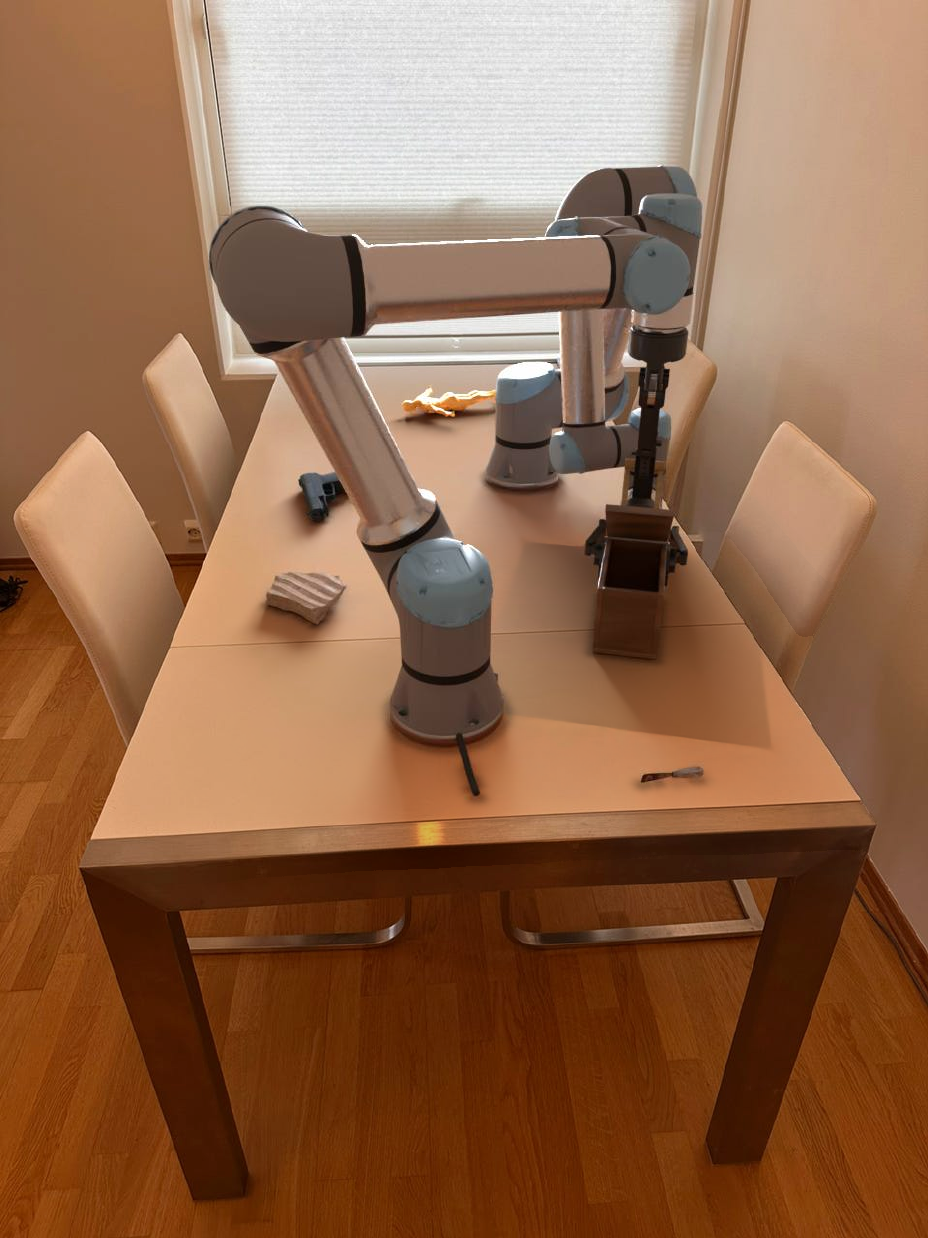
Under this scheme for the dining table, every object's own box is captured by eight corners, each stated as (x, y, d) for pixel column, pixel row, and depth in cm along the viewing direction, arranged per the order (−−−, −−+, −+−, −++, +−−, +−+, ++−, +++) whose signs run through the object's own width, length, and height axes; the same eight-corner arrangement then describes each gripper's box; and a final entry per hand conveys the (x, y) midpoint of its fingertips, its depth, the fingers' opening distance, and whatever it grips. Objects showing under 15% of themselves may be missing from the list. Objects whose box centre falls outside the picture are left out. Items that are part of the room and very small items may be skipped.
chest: (655, 659, 131) (664, 595, 125) (591, 652, 133) (597, 588, 127) (659, 602, 145) (667, 541, 140) (601, 596, 147) (607, 536, 141)
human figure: (395, 413, 223) (394, 398, 221) (438, 390, 237) (438, 375, 235) (462, 429, 215) (462, 413, 213) (502, 404, 229) (503, 388, 227)
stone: (356, 590, 149) (354, 577, 147) (319, 626, 139) (317, 612, 138) (289, 576, 153) (287, 563, 152) (249, 610, 144) (247, 596, 142)
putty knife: (703, 777, 109) (705, 767, 109) (642, 788, 108) (644, 777, 107) (700, 772, 110) (702, 762, 109) (639, 782, 109) (640, 771, 108)
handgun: (369, 516, 174) (308, 523, 171) (354, 480, 188) (297, 486, 185) (368, 501, 172) (306, 508, 169) (353, 466, 186) (295, 472, 183)
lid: (673, 516, 122) (680, 458, 123) (605, 510, 124) (612, 452, 124) (667, 541, 139) (672, 490, 140) (607, 536, 141) (612, 485, 142)
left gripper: (633, 311, 122) (619, 472, 135) (626, 338, 110) (611, 513, 123) (689, 314, 121) (670, 476, 133) (688, 341, 109) (667, 517, 121)
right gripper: (700, 539, 159) (701, 603, 140) (576, 528, 163) (561, 588, 144) (706, 501, 155) (708, 561, 136) (579, 490, 159) (564, 547, 140)
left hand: (642, 493), depth 128 cm, fingers closed on lid, 2 cm apart
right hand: (632, 575), depth 140 cm, fingers closed on chest, 9 cm apart
